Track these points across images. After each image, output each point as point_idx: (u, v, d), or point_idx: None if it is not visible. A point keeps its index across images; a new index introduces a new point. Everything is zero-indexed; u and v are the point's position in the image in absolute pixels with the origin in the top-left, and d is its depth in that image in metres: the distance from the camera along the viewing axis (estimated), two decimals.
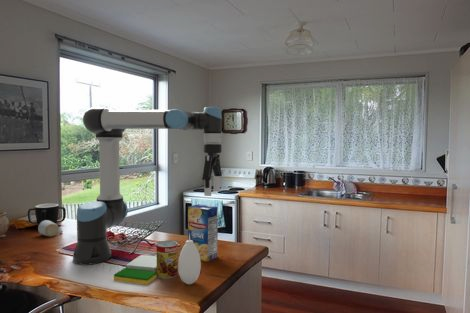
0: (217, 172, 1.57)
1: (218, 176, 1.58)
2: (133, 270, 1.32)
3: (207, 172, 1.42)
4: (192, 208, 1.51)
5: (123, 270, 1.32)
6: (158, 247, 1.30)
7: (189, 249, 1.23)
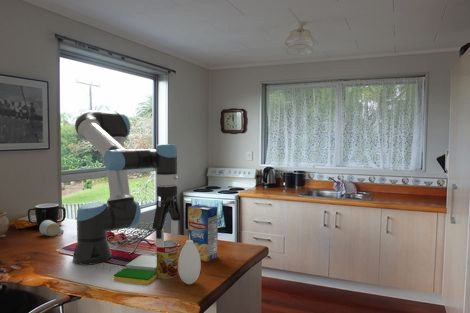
0: (174, 216, 1.38)
1: (176, 220, 1.39)
2: (133, 270, 1.32)
3: (158, 221, 1.23)
4: (192, 208, 1.51)
5: (123, 270, 1.32)
6: (158, 247, 1.30)
7: (189, 249, 1.23)
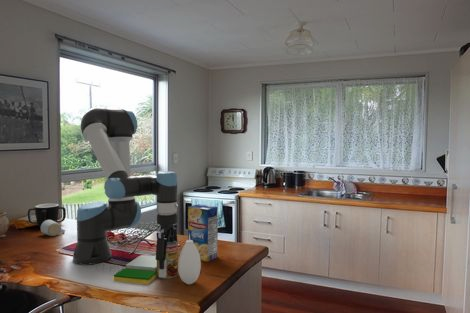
0: None
1: None
2: (132, 270, 1.32)
3: (160, 253, 1.26)
4: (192, 208, 1.51)
5: (122, 270, 1.32)
6: None
7: (189, 249, 1.23)
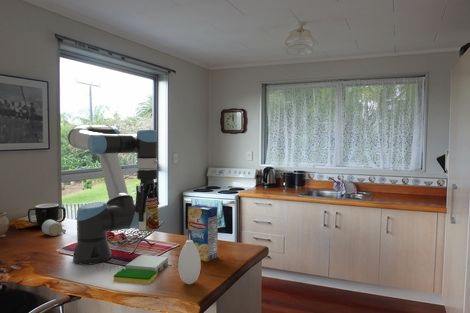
0: None
1: None
2: (132, 270, 1.32)
3: (139, 205, 1.31)
4: (192, 208, 1.51)
5: (122, 271, 1.32)
6: None
7: (189, 249, 1.23)
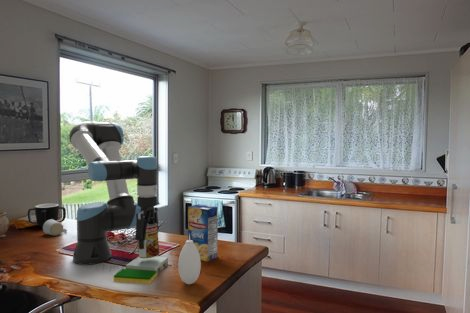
0: None
1: None
2: (132, 270, 1.32)
3: (139, 233, 1.32)
4: (192, 208, 1.51)
5: (122, 271, 1.31)
6: None
7: (189, 249, 1.23)
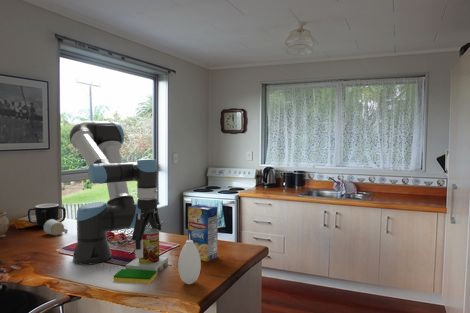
0: (155, 227, 1.45)
1: None
2: (132, 270, 1.32)
3: (137, 233, 1.30)
4: (192, 208, 1.51)
5: (121, 271, 1.31)
6: None
7: (189, 249, 1.23)
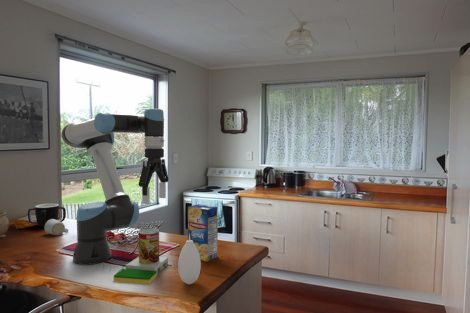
0: (162, 178, 1.47)
1: (164, 182, 1.48)
2: (132, 270, 1.32)
3: (143, 178, 1.32)
4: (192, 208, 1.51)
5: (122, 271, 1.31)
6: (140, 234, 1.36)
7: (189, 249, 1.23)
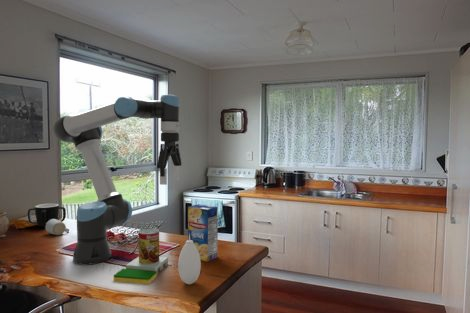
0: (176, 161, 1.55)
1: (177, 165, 1.56)
2: (132, 270, 1.32)
3: (162, 160, 1.40)
4: (192, 208, 1.51)
5: (122, 271, 1.32)
6: (140, 234, 1.36)
7: (189, 249, 1.23)
